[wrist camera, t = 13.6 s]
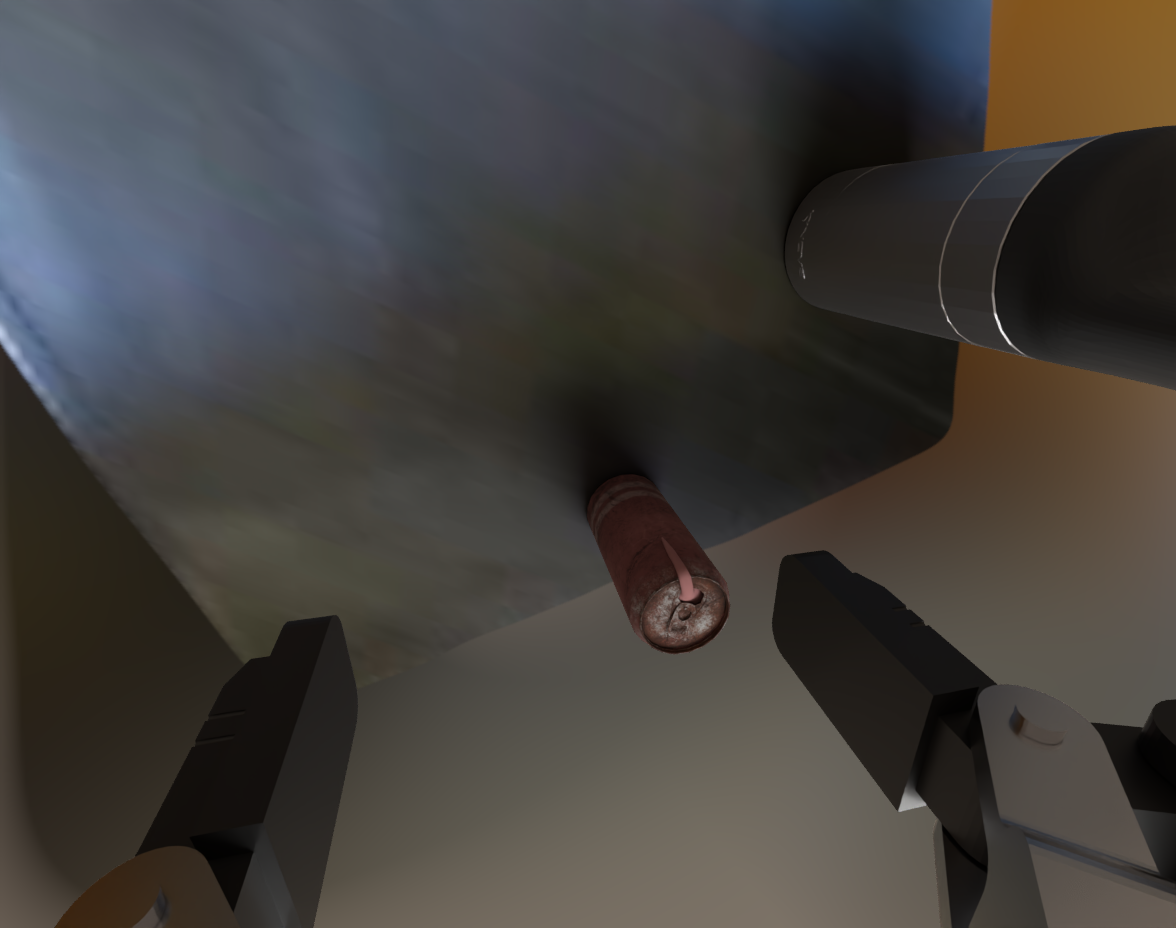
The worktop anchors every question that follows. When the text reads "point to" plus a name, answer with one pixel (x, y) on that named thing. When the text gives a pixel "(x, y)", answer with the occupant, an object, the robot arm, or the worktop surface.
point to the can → (657, 566)
